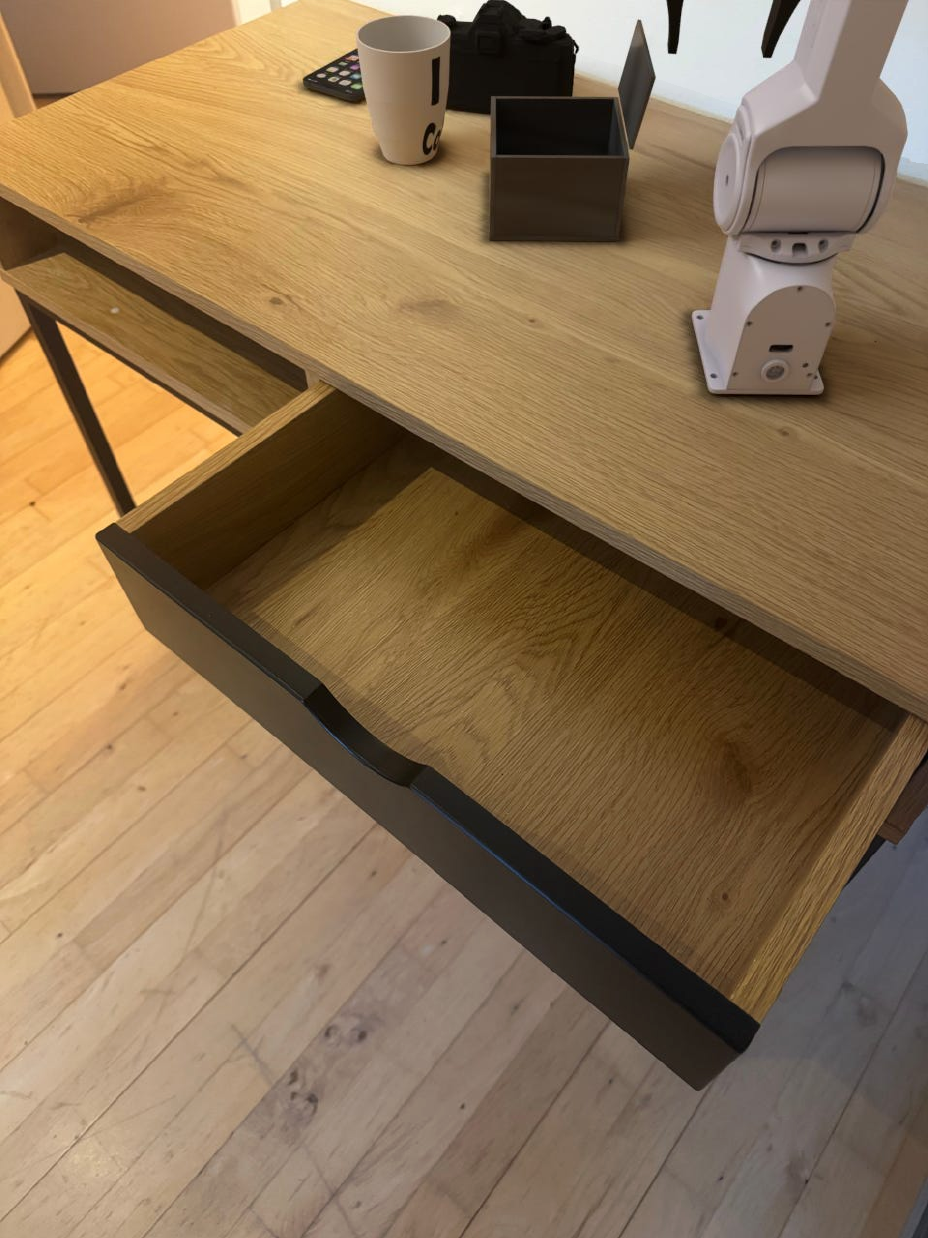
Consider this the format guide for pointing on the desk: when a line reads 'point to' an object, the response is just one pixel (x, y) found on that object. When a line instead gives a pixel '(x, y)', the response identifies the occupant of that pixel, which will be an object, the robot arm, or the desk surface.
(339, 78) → the smartphone
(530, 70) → the film camera
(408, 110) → the cup
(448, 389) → the desk surface
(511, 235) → the carton
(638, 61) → the flap
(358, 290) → the desk surface
